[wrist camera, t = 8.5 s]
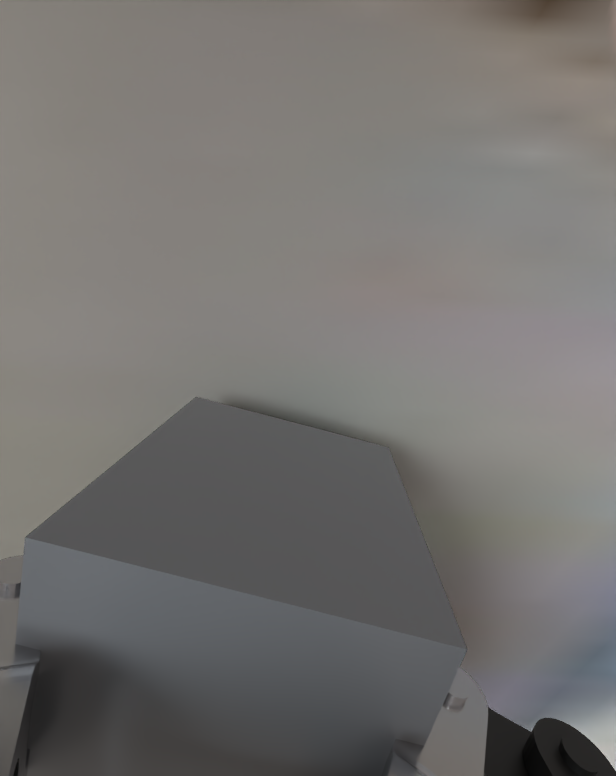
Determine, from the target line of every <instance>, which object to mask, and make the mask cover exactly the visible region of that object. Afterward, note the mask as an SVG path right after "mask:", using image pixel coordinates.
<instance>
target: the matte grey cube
mask: <svg viewBox="0 0 616 776" xmlns="http://www.w3.org/2000/svg"><path fill="white" fill-rule="evenodd" d="M15 644H18V645H22V646H26V647H30V648H34V649H38V650H41V659H40V667H39V676H38V680H37V685H36V690H35V695H34V701H33V707H32V713H31V721H30V730H29V739H28V748H27V749H30V755H29V764H28V772H27V776H382V773H383V770H384V767H385V763H386V760H387V758H388V756H389V753H390V751H391V748H392V746H393V744H394V741H395V739H399V740H403V741H407V742H411V743H415V744H419V745H423V746H424V745H425V743H426V741H427V739H428V737H429V734H430V732H431V730H432V728H433V725H434V723H435V721H436V719H437V716H438V714H439V712H440V710H441V707H442V705H443V703H444V701H445V699H446V696H447V694H448V692H449V690H450V687H451V685H452V683H453V681H454V678H455V676H456V674H457V672H458V670H459V667H460V665H461V663H462V661H463V658H464V656H465V654H466V652H467V647H466V644H465V642H464V639H463V637H462V634H461V632H460V629H459V626H458V624H457V621H456V619H455V616H454V614H453V611H452V608H451V606H450V603H449V601H448V598H447V596H446V593H445V591H444V588H443V585H442V583H441V580H440V578H439V575H438V573H437V570H436V567H435V565H434V562H433V560H432V557H431V555H430V552H429V549H428V547H427V544H426V542H425V539H424V537H423V534H422V532H421V529H420V526H419V524H418V521H417V519H416V516H415V514H414V511H413V508H412V506H411V503H410V501H409V498H408V496H407V493H406V490H405V488H404V485H403V483H402V480H401V478H400V475H399V472H398V470H397V467H396V465H395V462H394V460H393V457H392V455H391V452H390V449H389V447H386V446H382V445H378V444H374V443H371V442H367V441H363V440H359V439H355V438H351V437H348V436H344V435H340V434H336V433H332V432H328V431H325V430H321V429H317V428H313V427H309V426H306V425H302V424H298V423H294V422H290V421H286V420H283V419H279V418H275V417H271V416H267V415H264V414H260V413H256V412H252V411H248V410H244V409H241V408H237V407H233V406H229V405H225V404H221V403H218V402H214V401H210V400H206V399H202V398H199V397H195V398H194V399H193V400H192V401H190V402H189V403H188V404H187V405H186V406H184V407H183V408H182V409H181V410H180V411H178V412H177V413H176V414H175V415H173V416H172V417H171V418H170V419H169V420H167V421H166V422H165V423H164V424H162V425H161V426H160V427H159V428H158V429H156V430H155V431H154V432H153V433H152V434H150V435H149V436H148V437H147V438H145V439H144V440H143V441H142V442H141V443H139V444H138V445H137V446H136V447H134V448H133V449H132V450H131V451H130V452H128V453H127V454H126V455H125V456H124V457H122V458H121V459H120V460H119V461H117V462H116V463H115V464H114V465H113V466H111V467H110V468H109V469H108V470H106V471H105V472H104V473H103V474H102V475H100V476H99V477H98V478H97V479H96V480H94V481H93V482H92V483H91V484H89V485H88V486H87V487H86V488H85V489H83V490H82V491H81V492H80V493H78V494H77V495H76V496H75V497H74V498H72V499H71V500H70V501H69V502H68V503H66V504H65V505H64V506H63V507H61V508H60V509H59V510H58V511H57V512H55V513H54V514H53V515H52V516H50V517H49V518H48V519H47V520H46V521H44V522H43V523H42V524H41V525H40V526H38V527H37V528H36V529H35V530H33V531H32V532H31V533H30V534H29V535H27V536H26V537H25V545H24V555H23V566H22V577H21V588H20V599H19V609H18V620H17V631H16V642H15Z"/></svg>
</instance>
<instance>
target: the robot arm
mask: <svg viewBox="0 0 616 776" xmlns="http://www.w3.org/2000/svg"><path fill="white" fill-rule="evenodd" d="M22 566H23V555H21V556H14V557H9V558H5V559H2V560H0V776H27V772H28V764H29V755H30V749H27V748H28V739H29V730H30V721H31V713H32V707H33V701H34V695H35V690H36V685H37V680H38V676H39V667H40V659H41V650H38V649H34V648H30V647H26V646H22V645H18V644H15V642H16V631H17V620H18V609H19V599H20V588H21V577H22ZM382 776H616V771H615V770H614V768H613V767H612V765H611V764H610V763H609V761H608V760H607V759H606V757H605V756H604V755H603V754H602V752H601V751H600V750H599V749H598V748H597V747H596V746H595V745H594V744H593V743H592V742H591V741H590V740H589V739H588V738H587V737H585V736H584V735H583V734H582V733H580V732H579V731H578V730H576V729H575V728H573V727H572V726H570V725H568V724H566V723H564V722H562V721H559V720H557V719H552V718H544V719H540V720H539V721H538V722H537V723H536V725H535V726H534V728H533V730H532V732H530V731H528V730H526V729H525V728H523V727H521V726H519V725H517V724H516V723H514V722H512V721H510V720H508V719H507V718H505V717H503V716H501V715H499V714H498V713H496V712H494V711H493V710H491V709H490V708H489V707H488V705H487V701H486V699H485V696H484V694H483V692H482V690H481V689H480V687H479V686H478V684H477V683H476V682H475V681H474V679H473V678H472V677H471V676H470V675H469V674H468V673H467V672H465V671H464V670H463V669H462V668H460V667H459V670H458V672H457V674H456V676H455V678H454V681H453V683H452V685H451V687H450V690H449V692H448V694H447V696H446V699H445V701H444V703H443V705H442V707H441V710H440V712H439V714H438V716H437V719H436V721H435V723H434V725H433V728H432V730H431V732H430V734H429V737H428V739H427V741H426V743H425V745H424V746H423V745H419V744H415V743H411V742H407V741H403V740H399V739H395V741H394V744H393V746H392V748H391V751H390V753H389V756H388V758H387V760H386V763H385V767H384V770H383V773H382Z"/></svg>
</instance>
